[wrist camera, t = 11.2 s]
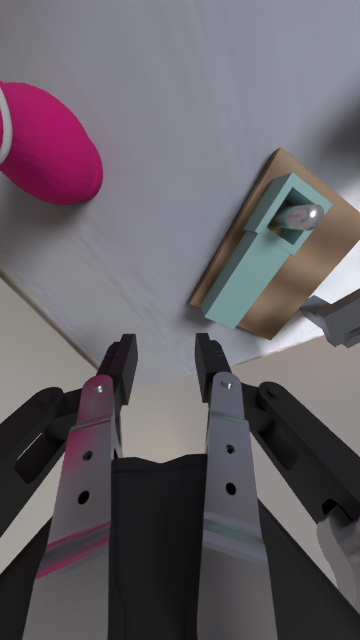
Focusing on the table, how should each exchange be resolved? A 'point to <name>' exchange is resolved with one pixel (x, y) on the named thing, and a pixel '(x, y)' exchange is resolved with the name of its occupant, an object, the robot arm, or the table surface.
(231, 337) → the table surface
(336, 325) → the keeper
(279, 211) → the capsule
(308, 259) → the board
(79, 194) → the pepper mill
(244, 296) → the teal bar with hole
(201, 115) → the table surface
